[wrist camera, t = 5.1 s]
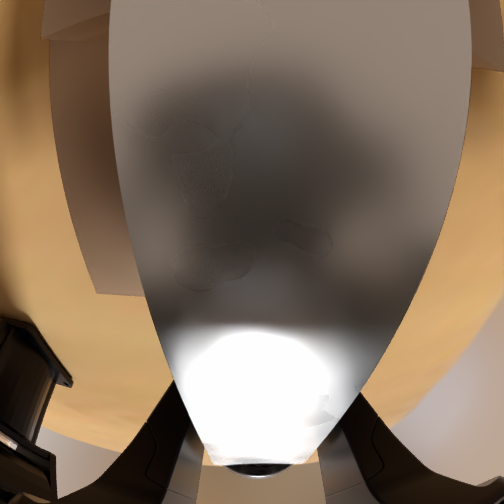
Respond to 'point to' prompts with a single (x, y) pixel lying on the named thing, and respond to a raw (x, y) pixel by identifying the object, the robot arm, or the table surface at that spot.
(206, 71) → the shaft
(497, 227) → the table surface
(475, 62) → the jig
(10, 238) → the table surface
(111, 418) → the table surface
